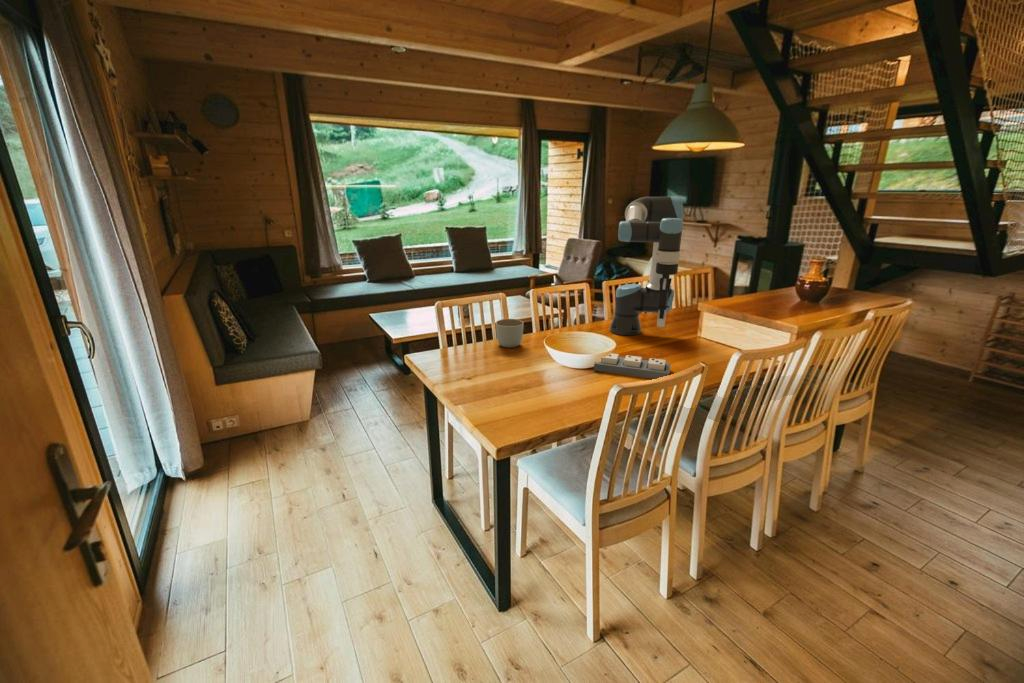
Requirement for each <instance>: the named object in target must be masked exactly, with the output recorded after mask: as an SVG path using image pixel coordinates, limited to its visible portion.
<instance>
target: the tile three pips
mask: <svg viewBox="0 0 1024 683" xmlns="http://www.w3.org/2000/svg"><path fill="white" fill-rule="evenodd" d="M648 361H649V362H648V369H655V370H663V371H664V368H665V363H666V359H661V358H655V357H654V358H653V357H652V358H651V357H650V358H649V359H648Z"/></svg>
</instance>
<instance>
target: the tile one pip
mask: <svg viewBox="0 0 1024 683" xmlns="http://www.w3.org/2000/svg"><path fill="white" fill-rule="evenodd" d="M610 353H611V352H610ZM618 357H620V354H618V353H611V354H609V355H608V356H606V357H601V363H609V364H617V362H618Z"/></svg>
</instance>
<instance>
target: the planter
mask: <svg viewBox="0 0 1024 683" xmlns="http://www.w3.org/2000/svg"><path fill="white" fill-rule="evenodd" d="M495 331H496V332H495V333H496V340H497V341H496V342H497V343H498V344H499V345H500V346H501V347H502V348H503V347H504V348H508V349H509V348H510V349H511V348H516V347H518V346H520V345H521V343H522V341H523V337H524V335H523V334H524V321H522V320H521V319H517V318H503V319H499V320H496V321H495Z"/></svg>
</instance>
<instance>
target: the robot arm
mask: <svg viewBox="0 0 1024 683" xmlns="http://www.w3.org/2000/svg"><path fill="white" fill-rule="evenodd" d="M683 202H684V201H683V199H682V197H678V196H671V195H670V196H643V197H639V198H637V199H635V200H632V201H631V202H630V203H629V204H628V205H627V206H626V208H625V211H624V218H625V221H624V220H621V221H619V224H618V233H617V235H618V238H617V239H618V241H620V242H626V243H630V242H631V243H633V242H634V243H653V245H652V246H653V247H652V248H653V249H652V257H651V266H650V275H649V282H647V283H646V285H645V287H642V285H641V284H640V283H639V284H638V283H628V284H622V285H620V286H618V287H617V288H616V291H615V292H616V293H615V304H614V315H613V318H612V320H611V323H610V325H609V331H610V332H611V333H613V334H616V335H620V336H638V335H640V334H641V333H642V325H641V321H640V315H639V314H640V313H650V314H657V318H656V320H657V321H656V327H657V328H664V327H665V325H666V319H667V318H666V317H667V314H668V313H670V311H671V308H672V305H673V301H674V297H675V289H672V287H673V286H672V285H671V284H672V277H670V276H674V275H675V276H676V275H677V274H678V269H679V264H678V263H679V262H680V254H681V242H682V234H683V230H684V228H683V227H684V225H683V224H684V205H683V204H684V203H683Z"/></svg>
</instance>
